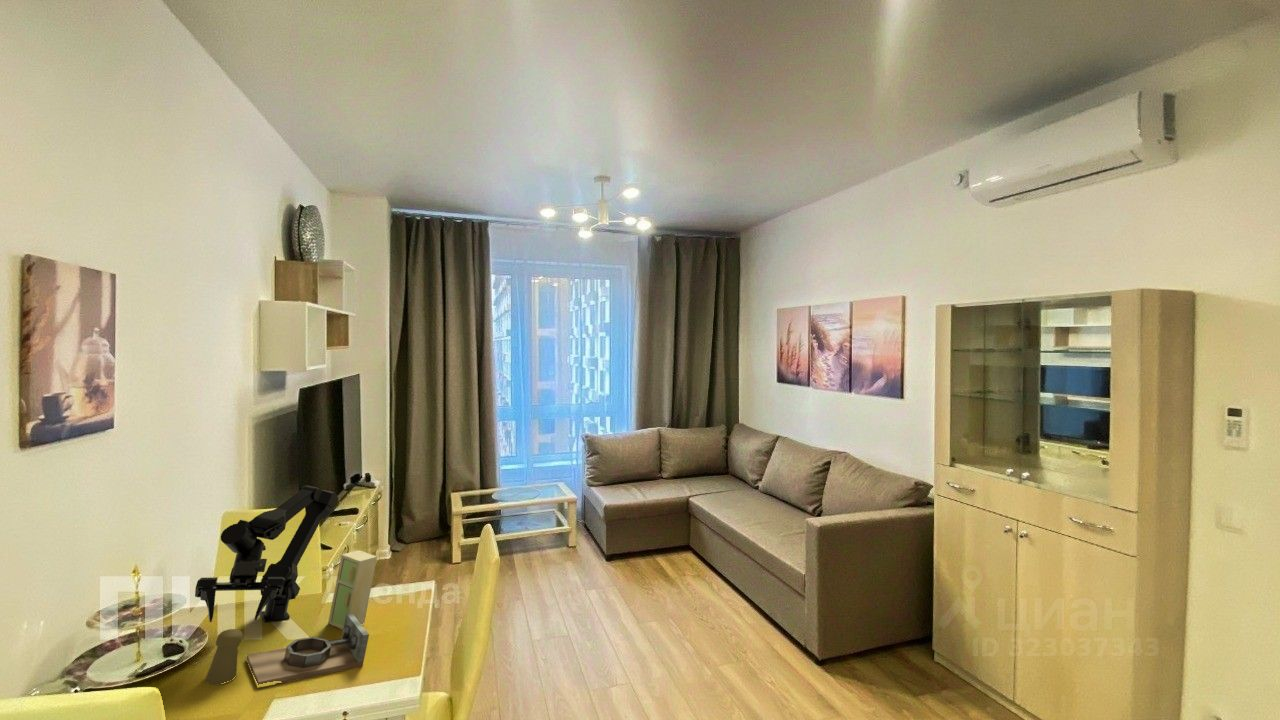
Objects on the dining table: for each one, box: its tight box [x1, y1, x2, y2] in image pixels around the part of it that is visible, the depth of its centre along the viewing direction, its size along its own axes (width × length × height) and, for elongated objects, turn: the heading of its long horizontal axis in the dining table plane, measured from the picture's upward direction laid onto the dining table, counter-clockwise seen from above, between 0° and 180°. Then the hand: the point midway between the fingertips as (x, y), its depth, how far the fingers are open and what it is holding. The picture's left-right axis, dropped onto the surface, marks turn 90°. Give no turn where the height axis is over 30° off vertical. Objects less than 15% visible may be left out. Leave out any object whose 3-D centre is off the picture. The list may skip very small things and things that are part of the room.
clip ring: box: [284, 626, 358, 668], centre depth 148 cm, size 10×16×5 cm, turn 134°
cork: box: [205, 628, 244, 686], centre depth 134 cm, size 6×6×11 cm
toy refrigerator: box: [327, 549, 378, 631], centre depth 170 cm, size 8×7×21 cm
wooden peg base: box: [245, 613, 370, 685], centre depth 146 cm, size 14×24×8 cm, turn 134°
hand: (233, 620), depth 139 cm, fingers open, 9 cm apart
